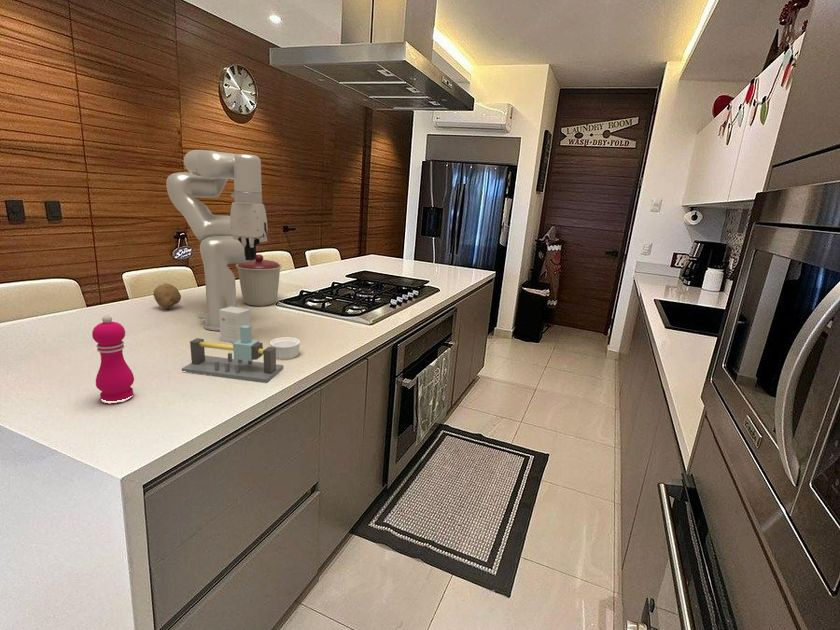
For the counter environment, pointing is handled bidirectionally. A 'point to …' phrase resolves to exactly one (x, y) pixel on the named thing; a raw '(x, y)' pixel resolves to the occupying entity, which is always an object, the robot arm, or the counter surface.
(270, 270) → the canister
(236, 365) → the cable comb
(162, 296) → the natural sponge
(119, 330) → the pepper mill
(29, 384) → the counter surface
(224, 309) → the small box
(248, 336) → the sleeve
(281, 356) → the ramekin
